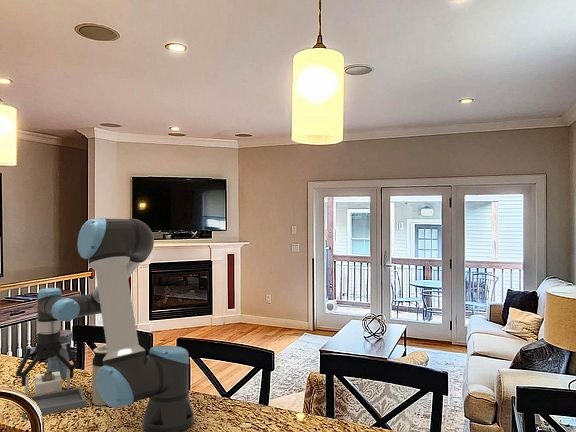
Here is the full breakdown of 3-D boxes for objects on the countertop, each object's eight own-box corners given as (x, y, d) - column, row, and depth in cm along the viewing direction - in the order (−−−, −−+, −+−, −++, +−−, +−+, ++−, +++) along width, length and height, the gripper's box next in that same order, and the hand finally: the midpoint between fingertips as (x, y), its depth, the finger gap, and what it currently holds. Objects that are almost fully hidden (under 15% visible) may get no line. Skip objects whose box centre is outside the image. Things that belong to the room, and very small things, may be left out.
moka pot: (57, 383, 168) (58, 330, 168) (33, 376, 175) (34, 325, 176) (80, 376, 176) (80, 325, 176) (56, 369, 184) (57, 320, 184)
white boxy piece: (62, 396, 156) (62, 381, 156) (35, 400, 152) (36, 385, 152) (59, 384, 167) (59, 371, 167) (34, 388, 163) (34, 375, 163)
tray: (86, 406, 148) (86, 400, 148) (22, 418, 138) (23, 412, 138) (81, 393, 159) (81, 387, 159) (22, 403, 149) (22, 397, 149)
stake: (53, 392, 159) (53, 372, 160) (43, 394, 158) (43, 374, 158) (52, 389, 162) (52, 370, 162) (42, 391, 161) (42, 371, 161)
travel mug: (86, 405, 149) (87, 351, 149) (100, 396, 157) (101, 344, 157) (109, 407, 148) (110, 352, 148) (121, 397, 156) (122, 346, 156)
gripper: (84, 325, 170) (83, 381, 170) (8, 333, 157) (7, 394, 157) (87, 329, 163) (86, 388, 163) (8, 338, 151) (7, 401, 150)
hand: (47, 391), depth 160 cm, fingers open, 12 cm apart
